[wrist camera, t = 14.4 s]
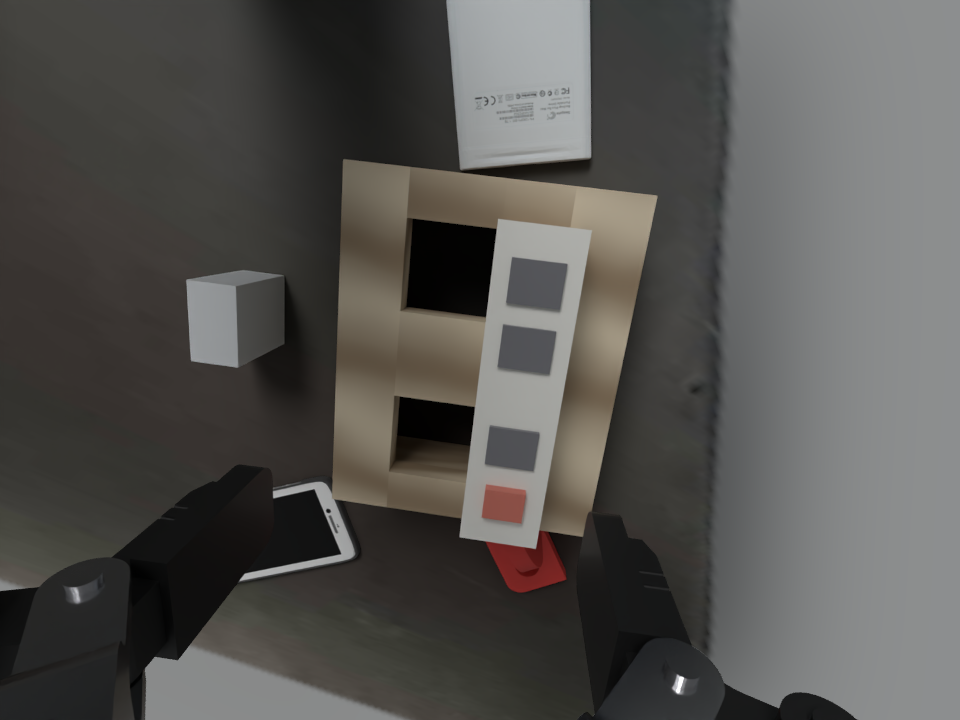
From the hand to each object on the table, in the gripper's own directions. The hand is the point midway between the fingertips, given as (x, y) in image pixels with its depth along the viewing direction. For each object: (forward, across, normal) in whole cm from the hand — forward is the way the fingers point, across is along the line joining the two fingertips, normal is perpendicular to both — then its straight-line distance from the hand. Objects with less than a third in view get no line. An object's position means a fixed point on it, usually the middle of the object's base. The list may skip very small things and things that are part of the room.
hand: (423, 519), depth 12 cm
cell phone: (+23, +16, +20) cm, 34 cm away
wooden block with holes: (+22, 0, +1) cm, 23 cm away
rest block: (+22, +16, +1) cm, 28 cm away
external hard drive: (+24, 0, -17) cm, 29 cm away
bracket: (+22, -3, +15) cm, 27 cm away
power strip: (+20, -2, +1) cm, 20 cm away
